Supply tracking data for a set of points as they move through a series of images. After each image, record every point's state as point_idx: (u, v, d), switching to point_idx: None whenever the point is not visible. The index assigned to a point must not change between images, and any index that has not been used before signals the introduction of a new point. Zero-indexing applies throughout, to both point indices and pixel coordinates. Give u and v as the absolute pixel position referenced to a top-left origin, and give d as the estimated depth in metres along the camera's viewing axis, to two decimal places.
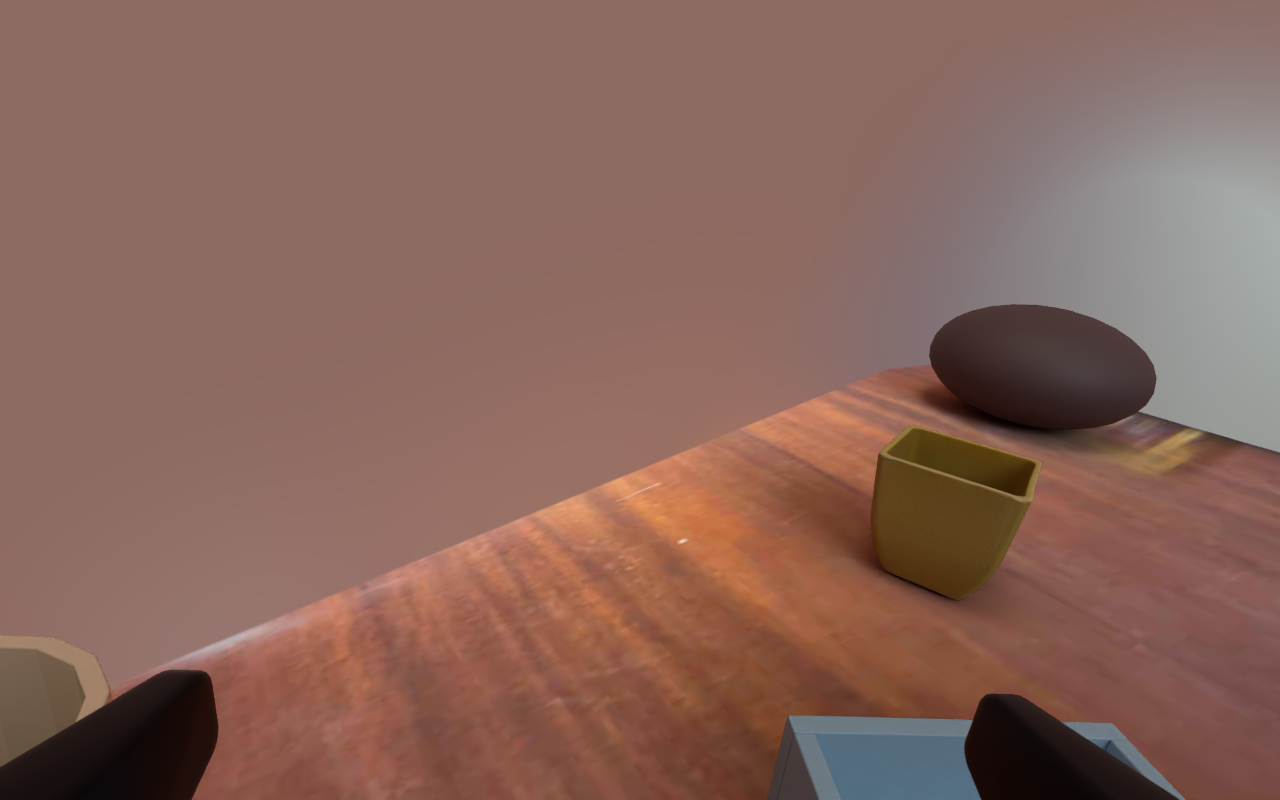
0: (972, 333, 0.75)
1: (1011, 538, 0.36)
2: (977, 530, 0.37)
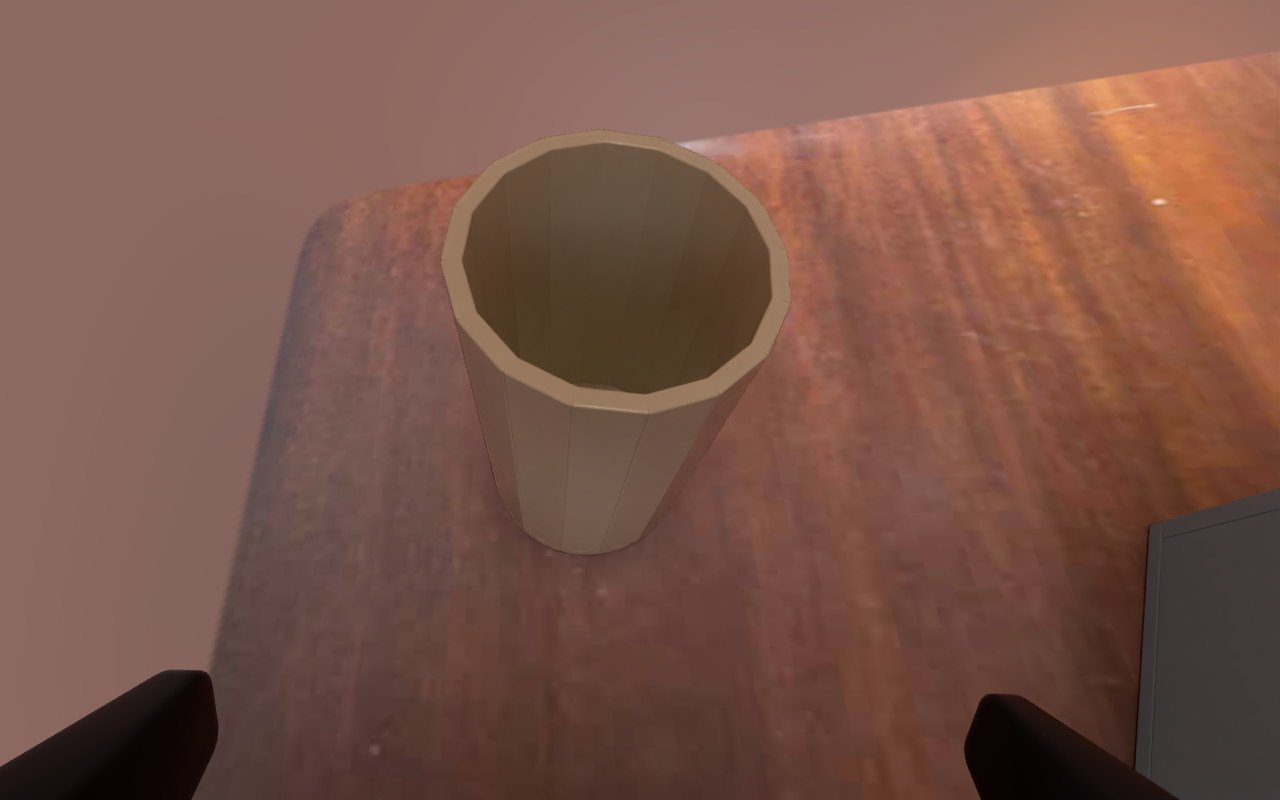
0: None
1: None
2: None
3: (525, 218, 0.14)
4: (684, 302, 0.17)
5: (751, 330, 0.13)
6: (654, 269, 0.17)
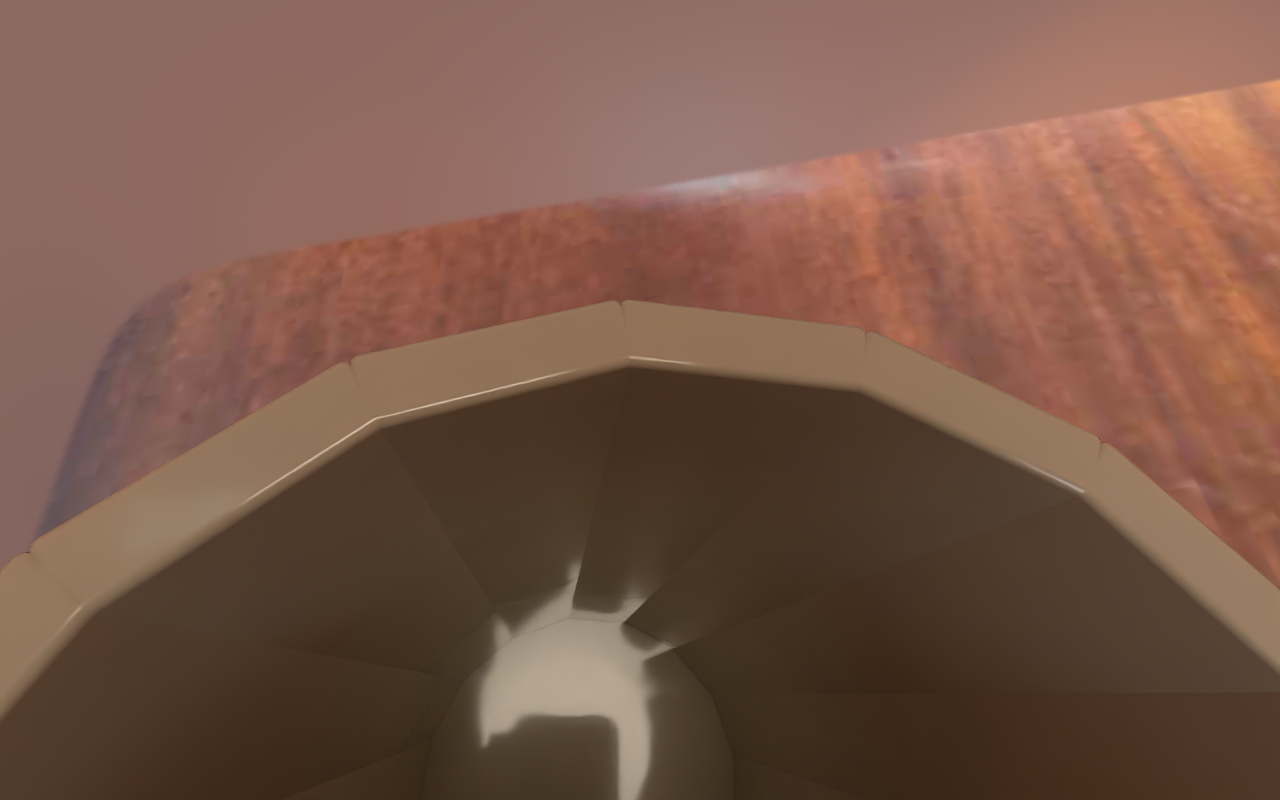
0: None
1: None
2: None
3: (339, 592, 0.04)
4: (816, 643, 0.07)
5: None
6: (747, 573, 0.07)
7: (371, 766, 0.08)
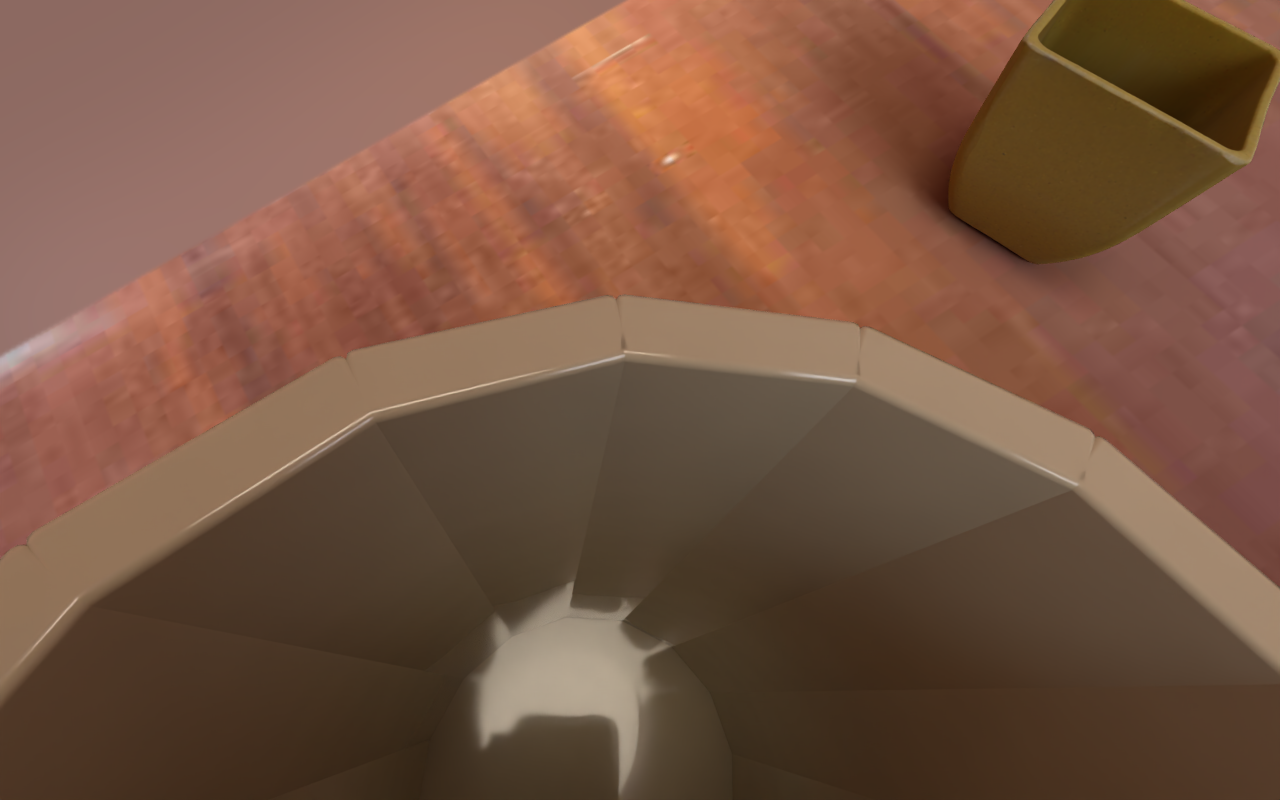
0: None
1: (1172, 210, 0.23)
2: (1125, 191, 0.24)
3: (336, 588, 0.04)
4: (813, 640, 0.07)
5: None
6: (744, 570, 0.07)
7: (370, 763, 0.08)
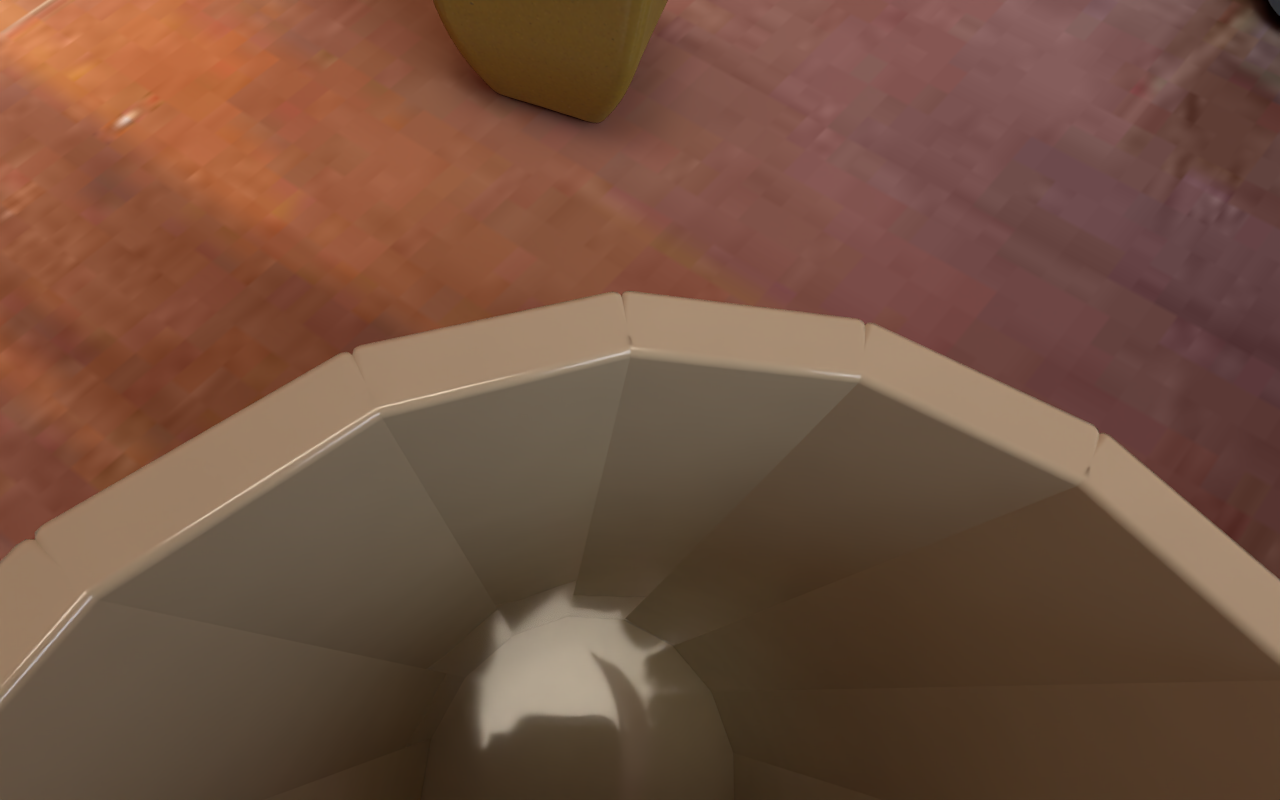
0: None
1: (645, 15, 0.21)
2: (592, 8, 0.21)
3: (340, 584, 0.04)
4: (815, 638, 0.07)
5: None
6: (747, 567, 0.07)
7: (372, 761, 0.08)
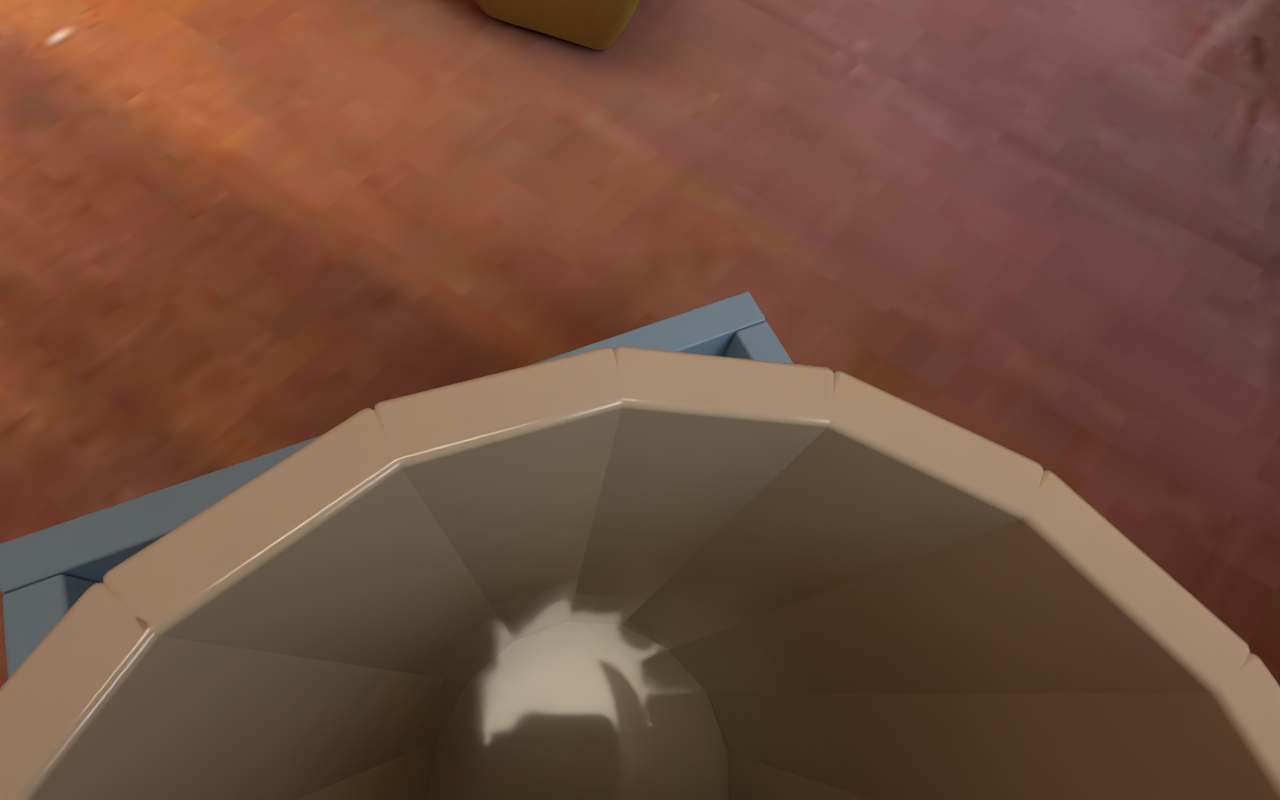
0: None
1: None
2: None
3: (359, 607, 0.04)
4: (802, 645, 0.07)
5: None
6: (736, 580, 0.07)
7: (381, 766, 0.08)
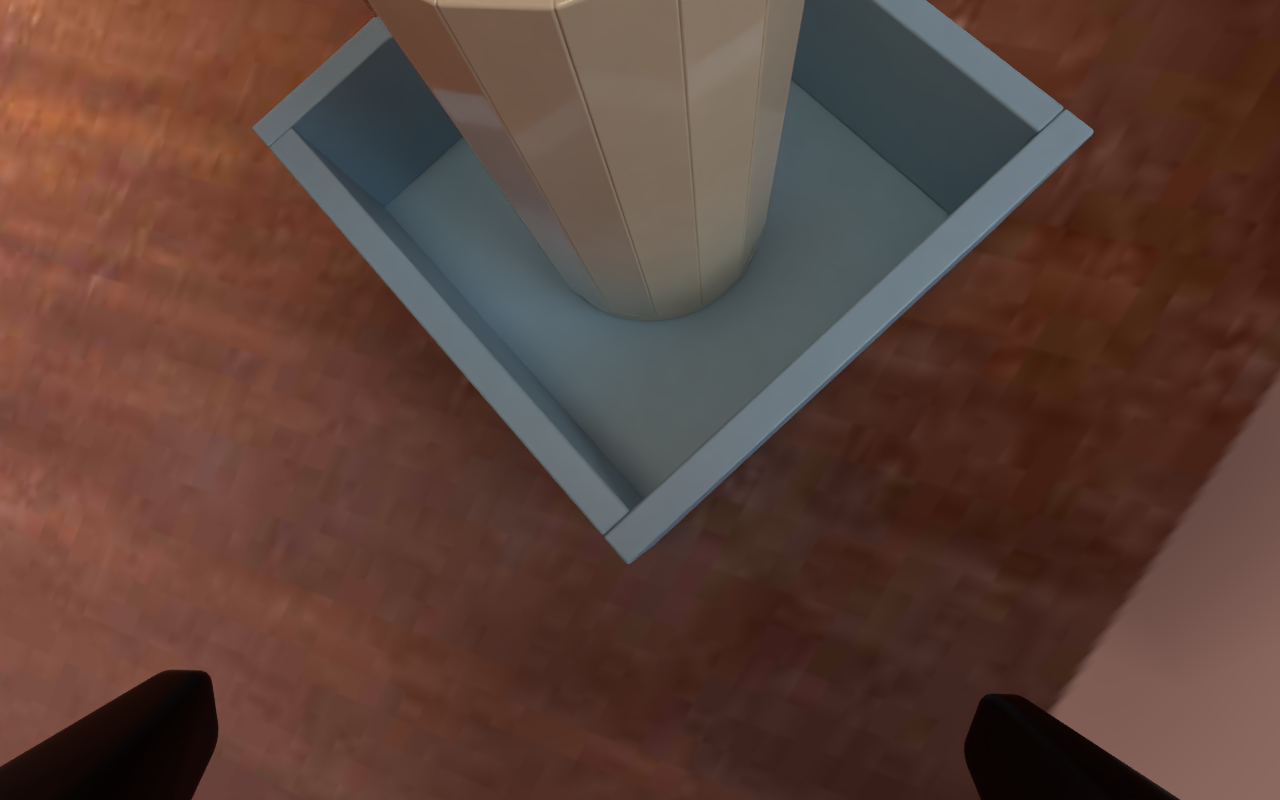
0: None
1: None
2: None
3: None
4: None
5: None
6: None
7: None
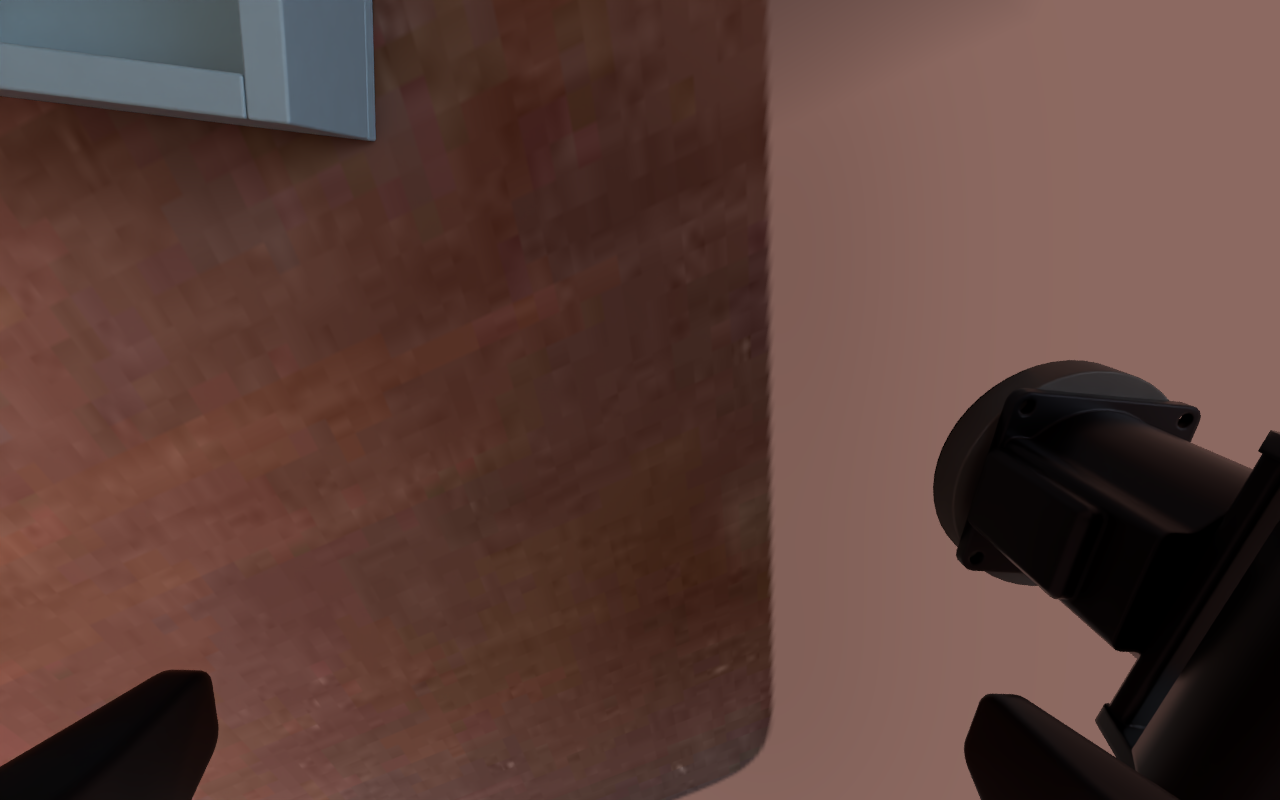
0: None
1: None
2: None
3: None
4: None
5: None
6: None
7: None
